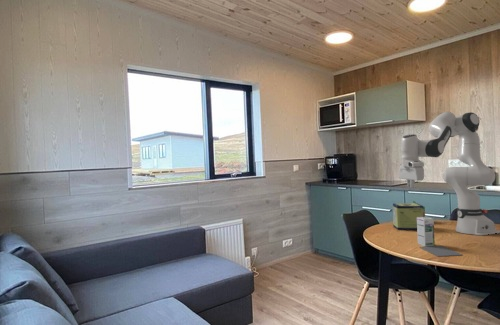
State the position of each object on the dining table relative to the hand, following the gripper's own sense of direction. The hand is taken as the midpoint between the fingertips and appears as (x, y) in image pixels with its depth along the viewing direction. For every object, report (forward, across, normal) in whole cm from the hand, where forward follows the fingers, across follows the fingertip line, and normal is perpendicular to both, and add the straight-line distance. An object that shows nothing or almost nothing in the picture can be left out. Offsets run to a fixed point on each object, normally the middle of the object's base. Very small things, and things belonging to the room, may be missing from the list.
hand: (410, 187), depth 180 cm
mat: (+29, +25, 0) cm, 38 cm away
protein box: (+29, -24, +11) cm, 39 cm away
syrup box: (+29, +13, 0) cm, 32 cm away
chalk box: (+29, -40, +26) cm, 56 cm away
